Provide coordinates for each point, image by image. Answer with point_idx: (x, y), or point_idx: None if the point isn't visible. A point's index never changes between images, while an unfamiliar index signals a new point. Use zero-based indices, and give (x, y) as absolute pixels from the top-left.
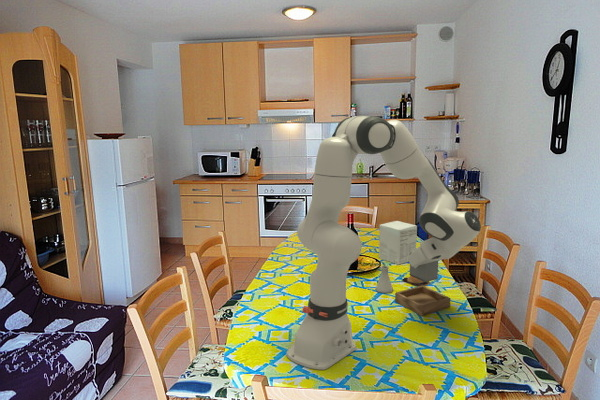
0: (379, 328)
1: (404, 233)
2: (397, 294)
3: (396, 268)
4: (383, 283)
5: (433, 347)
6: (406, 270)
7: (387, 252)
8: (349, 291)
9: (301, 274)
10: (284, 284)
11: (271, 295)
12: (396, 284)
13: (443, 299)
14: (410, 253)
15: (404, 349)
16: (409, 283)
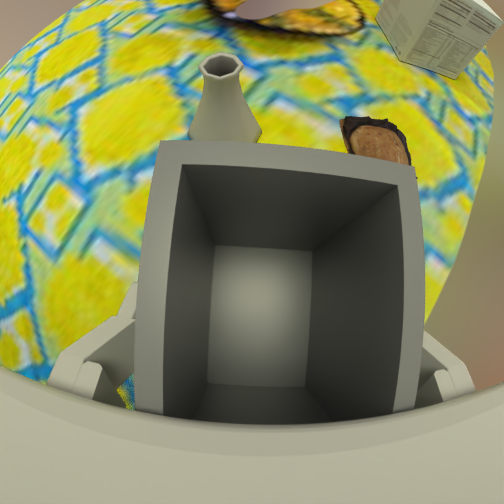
0: (21, 336)
1: (458, 6)
2: None
3: (382, 66)
4: (202, 123)
5: None
6: (401, 90)
7: (393, 18)
8: (125, 94)
9: (133, 2)
10: (68, 33)
11: (17, 70)
12: (301, 126)
13: None
14: (161, 154)
15: None
16: (348, 149)
